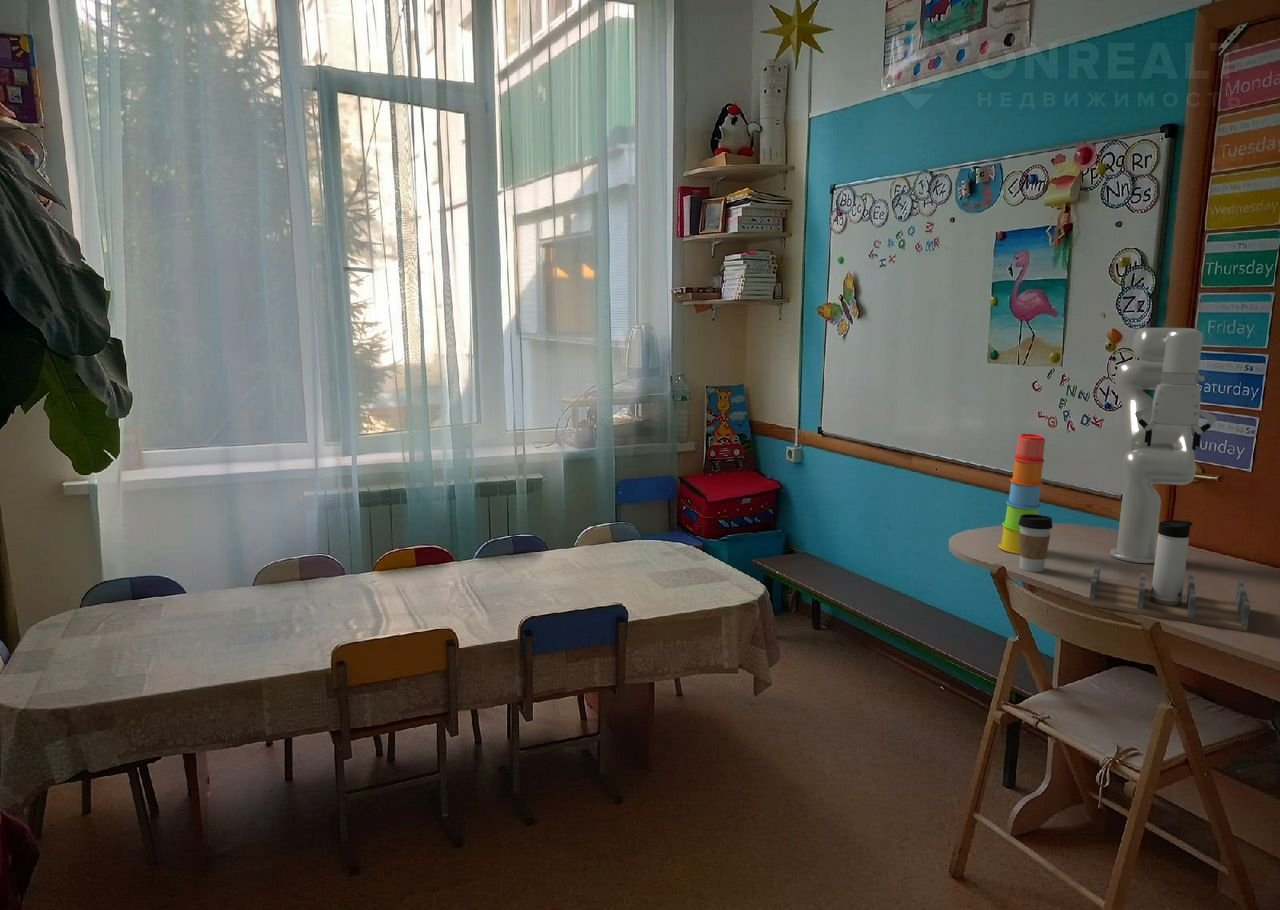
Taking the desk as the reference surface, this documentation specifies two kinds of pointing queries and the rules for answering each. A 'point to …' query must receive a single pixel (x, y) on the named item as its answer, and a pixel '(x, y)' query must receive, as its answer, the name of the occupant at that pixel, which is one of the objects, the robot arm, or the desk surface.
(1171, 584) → the travel mug
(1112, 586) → the drying rack
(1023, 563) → the coffee cup
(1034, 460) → the stacking cups
